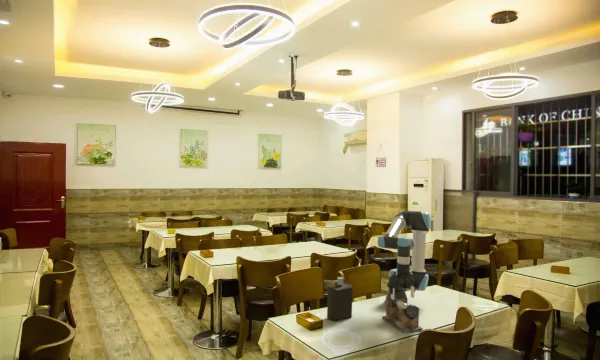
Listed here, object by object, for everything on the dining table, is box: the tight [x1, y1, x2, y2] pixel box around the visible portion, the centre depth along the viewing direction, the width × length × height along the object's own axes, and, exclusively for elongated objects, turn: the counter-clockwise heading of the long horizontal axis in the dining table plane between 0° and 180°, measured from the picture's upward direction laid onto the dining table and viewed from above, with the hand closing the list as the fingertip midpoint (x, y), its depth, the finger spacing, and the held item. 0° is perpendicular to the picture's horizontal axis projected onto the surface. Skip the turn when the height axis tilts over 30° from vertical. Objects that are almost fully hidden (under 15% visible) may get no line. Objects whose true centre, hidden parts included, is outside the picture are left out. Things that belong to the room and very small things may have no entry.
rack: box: [381, 299, 424, 334], centre depth 253 cm, size 13×24×12 cm, turn 18°
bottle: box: [326, 276, 353, 322], centre depth 262 cm, size 8×16×25 cm, turn 127°
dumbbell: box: [387, 294, 420, 319], centre depth 253 cm, size 8×23×8 cm, turn 18°
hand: (402, 298), depth 253 cm, fingers open, 13 cm apart
